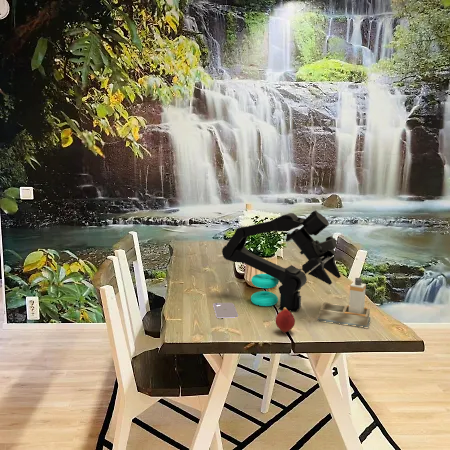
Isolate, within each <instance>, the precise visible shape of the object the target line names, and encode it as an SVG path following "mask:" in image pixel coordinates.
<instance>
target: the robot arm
mask: <svg viewBox="0 0 450 450" xmlns="http://www.w3.org/2000/svg"><path fill="white" fill-rule="evenodd" d="M329 225H330V223H329V221H328V219H327V218H326V217H325V216H323V215H322V214H321V213H319V212H318V211H317V210H316V209H315V210H313V211H311V213H310V214H309V215H308V216H307V217H305V218H303V217H300V216H297V215H296V214H295V213H294V212H289V213H286V214H283V215H280V216H278V217H276V218H274V219H272V220H269V221H264V222H259V223H256V224H251V225H246V226H245V225H244V226H240V227H238V228H236V229H235V232H234V234H232V237H231V238H229V240H228V242H227V244H226V245H224V246H223V247H222V251H221V253H222V257H223V258H224V259H225V260H226V261H229V262H233V263H241V264H245V265H247V266H249V267H251V268H253V269H256V270H257V271H260V272H262V273H263V274H268V275H270V276H272V277H274V278H276V279H278V280H279V283H280V284H281V285H279V286H278V292H279V294H280V296H279V298H280V299H279V302H280V303H279V307H278V310H279V309H280V311H283V308H286V309H287V310H288V311H290V312H291V313H292V312H294V313H297V312H298V310H299V309H301V307H302V296H301V294H300V292H301V291H300V290H301V289H302V288H303V286H305V285H306V283H307V279H308V278H307V276H306V275H309V276H311V277H314V278H316V279H317V280H320V281H321V282H324V283H325V284H328V285H332V284H333V282H332V280H331V278H330V276H329V275H328V273H327V272H326V271H328V272H329V273H330V274H332V275H333V276H334V277H336V278H337V279H340V278H341V273H340V271H339V268H338V266H337V263H336V257H337V252H336V250H335V249H336V248H338V245H337V243H338V239H336V238H335V237H333V236H332V235H331V236H327V237H326V238H325V240H324V241H322V242H320V241H319V240H315V239H314V238H313V237H312V236H317V235H319V234H320V233H321V232H322V231H324V230H325V229H326V228H327V227H328V226H329ZM299 227H300V228H299ZM292 230H293V231H292ZM289 231H292V232H289ZM269 232H280V233H281V232H288V233H286V236H285V237H286V238H285V242H288V243H289V242H290V241H293V243H294V244H295V245H296V246H297V248H298V249H299V250H300V251H299V253H300V255H304V257H305V258H306V259H307V261H306V262H305V263H304V264H302V266H301V268H298V267H295V265H292V264H291V265H288V267H283V266H281V265H278V264H276V263H274V262H272V261H269V260H268V259H266V258H263V257H261V256H259V255H256V254H255V253H252V252H250V251H249V250H248V248H247V247H245V246H246V244H247V240H248V237H251V236H256V235H260V234H261V235H262V234H266V233H269Z"/></svg>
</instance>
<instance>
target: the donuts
mask: <svg viewBox="0 0 450 450" xmlns="http://www.w3.org/2000/svg"><path fill="white" fill-rule="evenodd" d="M250 283H252V285H253V286H255V287H256V288H261V289H272V288H275V287H277V286H278V285H279V283H280V281H279V280H278V279H276V278H274V277H272V276H270V275H268V274H266V273H258V274H254V275H253V276H252V277H251V282H250ZM250 301H251V302H252V304H253V305H256V306H258V305H259V307H260V306H261V307H272V306H275V305H276V304H277V303H278V302H279V297H278V296H277V294H275V293H274V292H271V291H266V290H261V291H256V292H254V293H252V295H251V296H250Z"/></svg>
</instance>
